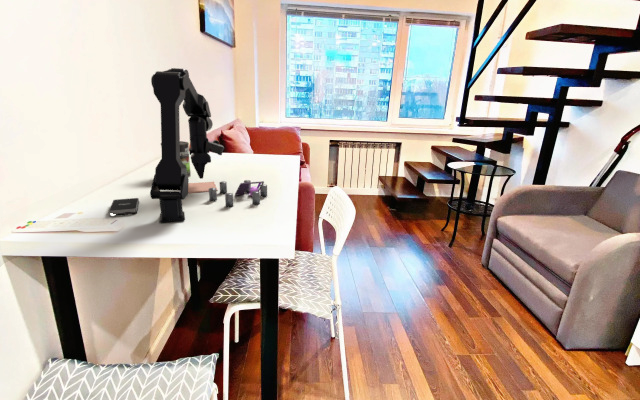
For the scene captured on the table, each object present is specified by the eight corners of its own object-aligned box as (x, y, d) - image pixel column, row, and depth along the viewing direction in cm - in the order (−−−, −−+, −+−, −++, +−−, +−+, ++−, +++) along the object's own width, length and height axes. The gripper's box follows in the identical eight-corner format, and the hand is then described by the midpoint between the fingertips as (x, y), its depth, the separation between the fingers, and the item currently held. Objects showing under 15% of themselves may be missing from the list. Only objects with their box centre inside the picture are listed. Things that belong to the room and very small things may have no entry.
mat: (217, 191, 125) (217, 190, 125) (188, 193, 121) (187, 192, 121) (214, 183, 135) (214, 181, 135) (186, 184, 132) (186, 183, 131)
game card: (233, 193, 121) (256, 190, 127) (238, 205, 119) (261, 202, 125) (239, 181, 117) (263, 179, 122) (245, 193, 115) (268, 191, 120)
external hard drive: (109, 217, 98) (108, 211, 97) (114, 205, 108) (113, 199, 107) (137, 215, 101) (136, 208, 100) (139, 203, 110) (138, 197, 110)
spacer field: (273, 203, 114) (273, 191, 113) (212, 208, 107) (211, 196, 106) (261, 189, 129) (261, 179, 128) (207, 193, 122) (206, 182, 121)
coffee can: (195, 175, 146) (193, 141, 142) (182, 181, 136) (179, 145, 132) (173, 173, 148) (170, 140, 143) (158, 179, 138) (154, 143, 134)
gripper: (225, 137, 117) (227, 182, 122) (218, 131, 133) (220, 170, 138) (190, 138, 113) (193, 184, 118) (187, 131, 129) (190, 172, 134)
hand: (201, 177), depth 127 cm, fingers closed
